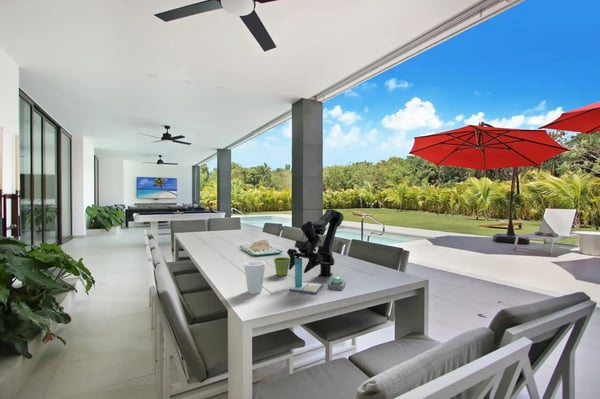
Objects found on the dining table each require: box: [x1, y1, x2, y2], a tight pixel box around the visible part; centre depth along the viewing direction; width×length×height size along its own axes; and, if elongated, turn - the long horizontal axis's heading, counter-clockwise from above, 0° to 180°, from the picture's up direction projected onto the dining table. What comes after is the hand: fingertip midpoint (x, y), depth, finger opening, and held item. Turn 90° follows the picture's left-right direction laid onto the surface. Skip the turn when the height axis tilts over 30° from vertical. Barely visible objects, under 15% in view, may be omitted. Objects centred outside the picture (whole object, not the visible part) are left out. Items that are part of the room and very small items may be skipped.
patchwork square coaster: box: [288, 281, 324, 295], centre depth 134 cm, size 13×13×1 cm
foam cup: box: [243, 260, 266, 295], centre depth 130 cm, size 10×9×13 cm
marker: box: [294, 257, 303, 287], centre depth 134 cm, size 4×4×13 cm
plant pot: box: [273, 256, 290, 277], centre depth 157 cm, size 9×9×9 cm
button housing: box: [327, 279, 346, 291], centre depth 137 cm, size 7×7×2 cm
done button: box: [331, 276, 342, 285], centre depth 137 cm, size 4×4×3 cm
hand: (296, 271), depth 133 cm, fingers open, 9 cm apart
